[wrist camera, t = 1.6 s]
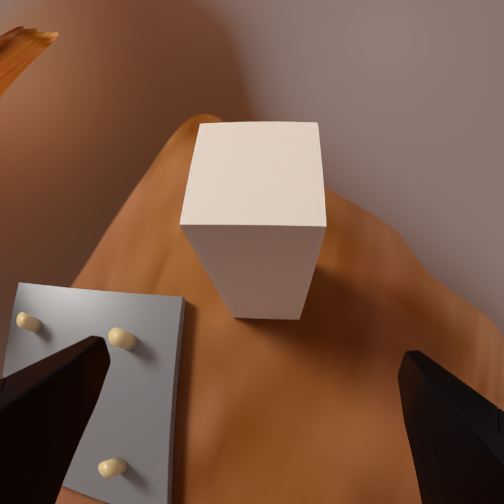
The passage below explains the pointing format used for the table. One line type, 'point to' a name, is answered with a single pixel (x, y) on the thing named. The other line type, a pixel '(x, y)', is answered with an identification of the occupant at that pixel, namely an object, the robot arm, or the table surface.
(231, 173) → the cream block
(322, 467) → the table surface
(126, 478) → the mount plate
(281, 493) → the table surface
